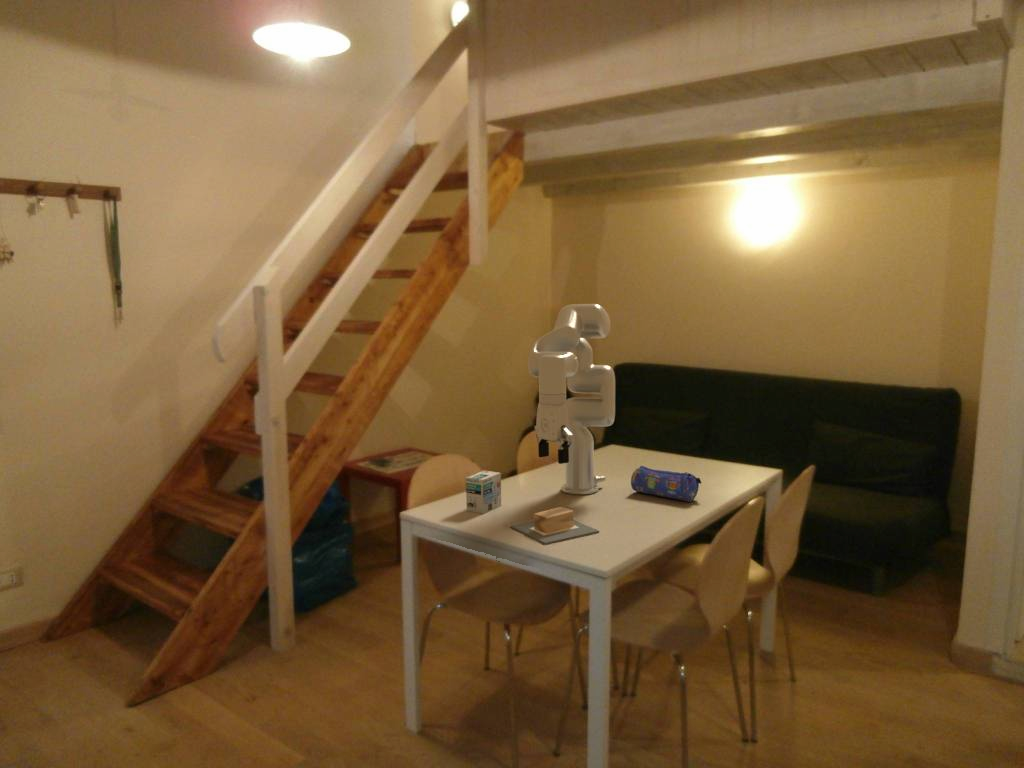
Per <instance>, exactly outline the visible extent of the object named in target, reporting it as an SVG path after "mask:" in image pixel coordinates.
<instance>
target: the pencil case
mask: <svg viewBox="0 0 1024 768" xmlns="http://www.w3.org/2000/svg"><path fill="white" fill-rule="evenodd" d="M699 484H700V485H701V484H702V481H701V477H696V476H695V475H694V474H692V473H689V472H688V471H685V472H683V471H682V472H678V471H671V470H670V471H669V470H661V469H660V470H659V469H652V468H649V467H646V466H644V465H641V466H639V467H637V468H636V469H635V470H634V471H633V472H632V475H631V478H630V485H631V489H632V490H633V491H635V492H637V493H638V492H639V493H643V494H648V495H649V494H650V495H653V496H657V497H662V498H668V499H674V500H679V501H684V502H687V503H693V501H694V500H695V498H696V496H697V494H698V493H699V488H700V487H699V486H700V485H699Z"/></svg>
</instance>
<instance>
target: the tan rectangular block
mask: <svg viewBox="0 0 1024 768" xmlns="http://www.w3.org/2000/svg"><path fill="white" fill-rule="evenodd" d="M574 512H575V511H574V510H573V509H569V508H567V507H563V506H559V507H554V508H551V509H547V510H544V511H543V510H542V511H539V512H535V513H533V514H534V515H533V517H534V518H533V519H534V520H533V521H534V529H536V530H538V531H541V532H544V533H546V534H548V533H552V532H555V531H559V530H562V529H566V528H570V527H573V526H574V520H575V513H574Z"/></svg>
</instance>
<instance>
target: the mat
mask: <svg viewBox="0 0 1024 768" xmlns="http://www.w3.org/2000/svg"><path fill="white" fill-rule="evenodd" d="M510 528H512V529H514V530H515V531H518V532H519V533H521V534H524V535H525V536H527V537H529V538H532V539H534V540H535V541H538V542H539V543H542V544H543V545H549V544H550V545H551V544H554V543H555V544H556V543H558V542H559V543H560V542H563V541H568V540H571V539H572V540H573V539H576V538H580V537H581V538H582V537H586V536H589V535H594V534H598V533H599V534H600V530H599V529H597V528H594V527H592V526H589V525H587V524H584V523H582V522H579V521H577V520H575V519H574V526H573V527H570V528H566V529H562V530H559V531H555V532H552V533H548V534H546V533H544V532H541V531H538V530H536V529H534V520H531V521H527V522H522V523H516V524H515V523H514V524H512V525H511V524H510Z"/></svg>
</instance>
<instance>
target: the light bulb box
mask: <svg viewBox="0 0 1024 768" xmlns="http://www.w3.org/2000/svg"><path fill="white" fill-rule="evenodd" d="M465 494H466V496H465V497H466V511H467V512H472V513H477V514H478V513H479V514H486V513H488V512H490V511H493V510H495V509H497V508H499V507H501V506H502V473H501V472H498V471H497V472H496V471H490V470H482V471H479V472H477V473H474V474H471V475H469V476H466V477H465Z"/></svg>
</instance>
